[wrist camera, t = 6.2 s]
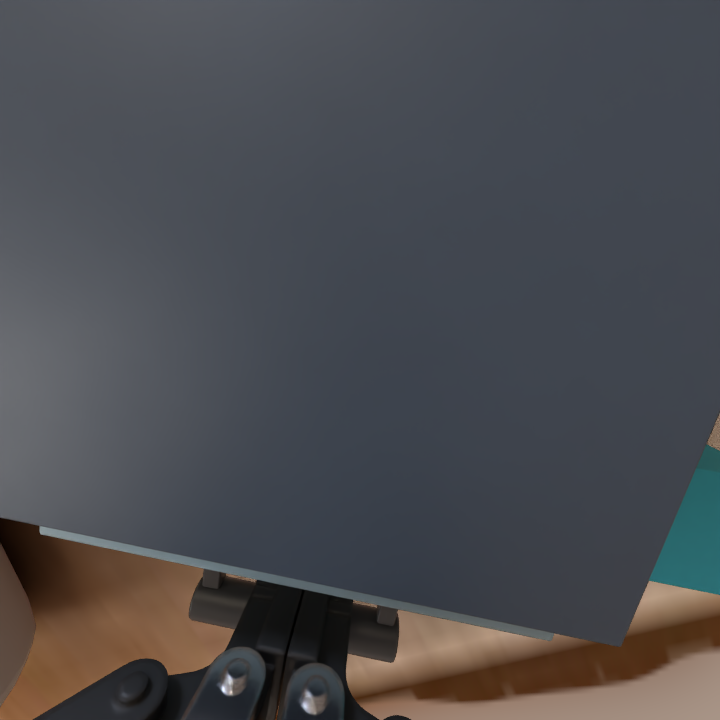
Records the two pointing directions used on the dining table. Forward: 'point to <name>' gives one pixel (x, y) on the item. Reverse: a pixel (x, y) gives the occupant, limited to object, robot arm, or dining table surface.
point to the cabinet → (365, 289)
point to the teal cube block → (695, 533)
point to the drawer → (230, 595)
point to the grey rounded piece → (13, 626)
